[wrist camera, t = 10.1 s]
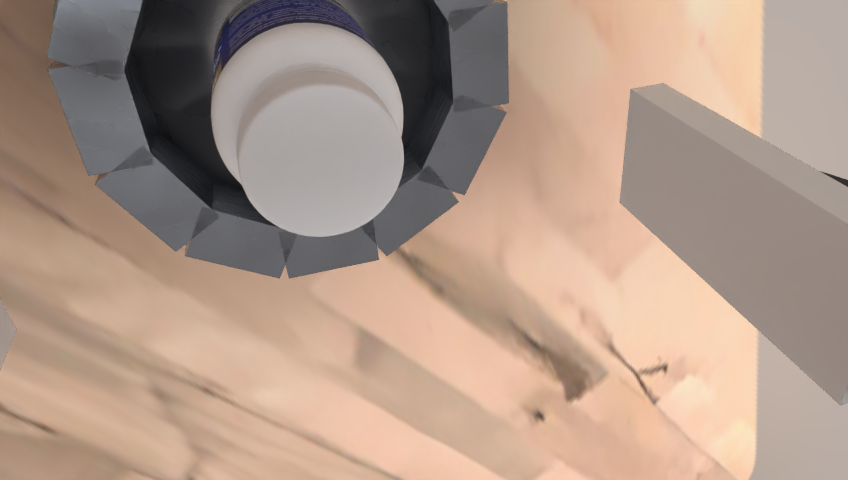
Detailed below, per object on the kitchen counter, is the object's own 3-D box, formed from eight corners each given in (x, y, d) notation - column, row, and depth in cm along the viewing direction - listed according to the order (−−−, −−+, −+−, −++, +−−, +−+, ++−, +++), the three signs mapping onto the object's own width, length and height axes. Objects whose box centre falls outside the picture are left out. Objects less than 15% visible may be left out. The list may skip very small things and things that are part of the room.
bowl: (-22, -163, 19) (-67, -165, 16) (480, -207, 21) (520, -216, 18) (140, 271, 27) (130, 323, 24) (493, 201, 29) (522, 240, 26)
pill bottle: (183, 19, 22) (161, 108, 14) (332, -42, 22) (387, 14, 14) (257, 157, 24) (270, 290, 17) (387, 102, 25) (456, 210, 17)
